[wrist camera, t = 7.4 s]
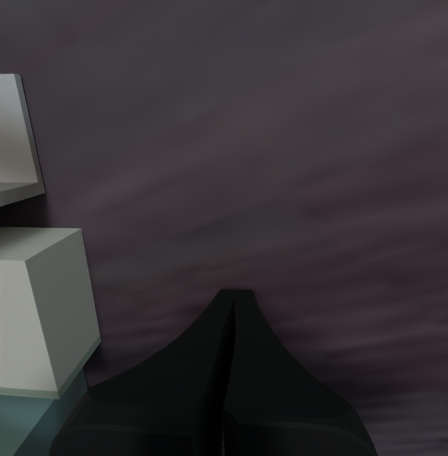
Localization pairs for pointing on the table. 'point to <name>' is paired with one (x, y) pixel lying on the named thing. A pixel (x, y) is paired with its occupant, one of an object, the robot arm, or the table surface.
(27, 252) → the white rectangular box
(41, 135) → the table surface
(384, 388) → the table surface
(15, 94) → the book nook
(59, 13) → the table surface
